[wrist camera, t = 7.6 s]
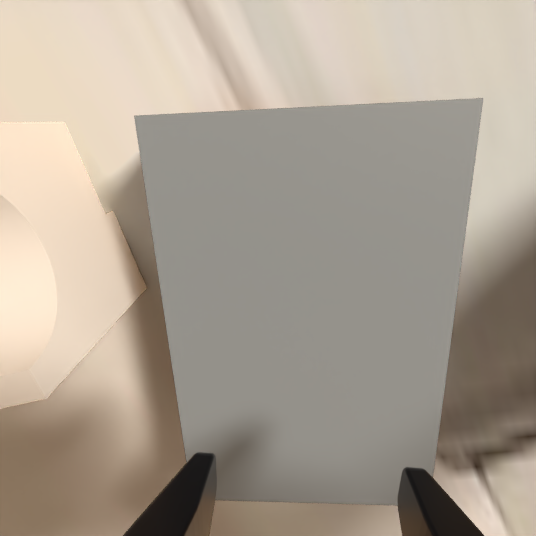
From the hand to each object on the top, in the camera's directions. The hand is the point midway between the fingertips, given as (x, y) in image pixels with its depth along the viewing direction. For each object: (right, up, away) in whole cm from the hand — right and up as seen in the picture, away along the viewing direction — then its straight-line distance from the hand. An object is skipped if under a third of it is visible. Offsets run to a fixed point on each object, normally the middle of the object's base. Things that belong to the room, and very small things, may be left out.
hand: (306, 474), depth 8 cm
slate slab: (+1, +3, +7) cm, 7 cm away
